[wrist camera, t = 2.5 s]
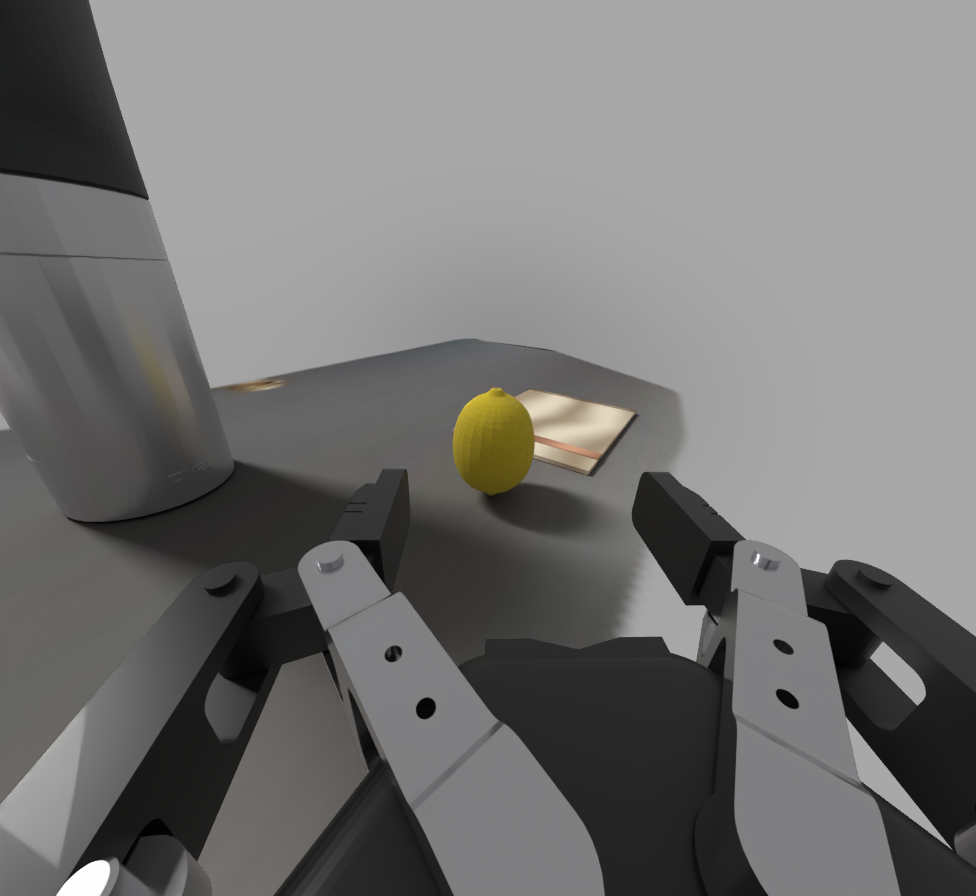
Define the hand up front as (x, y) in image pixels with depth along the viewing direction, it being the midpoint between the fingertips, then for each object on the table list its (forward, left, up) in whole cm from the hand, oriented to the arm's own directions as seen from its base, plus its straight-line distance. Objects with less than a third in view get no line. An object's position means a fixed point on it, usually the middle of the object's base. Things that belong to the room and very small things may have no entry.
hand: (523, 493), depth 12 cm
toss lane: (-9, +25, -8) cm, 28 cm away
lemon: (-7, +9, -8) cm, 14 cm away
